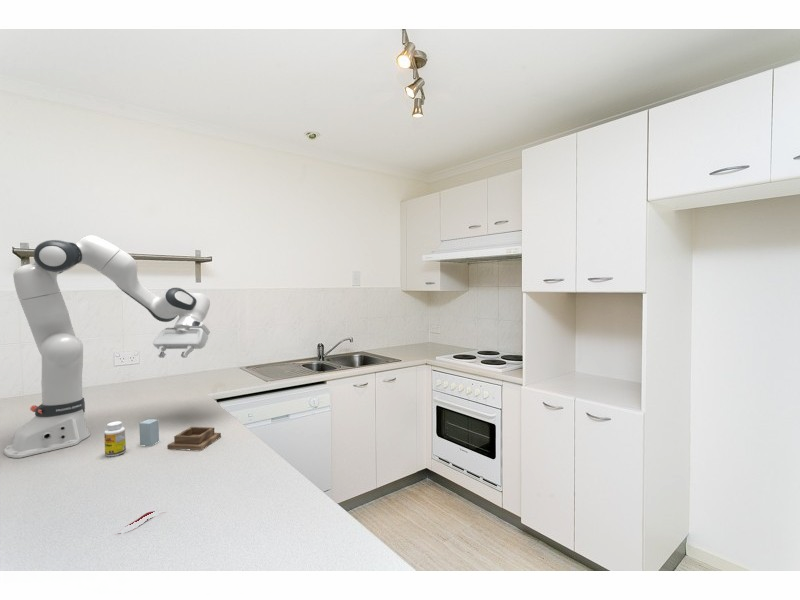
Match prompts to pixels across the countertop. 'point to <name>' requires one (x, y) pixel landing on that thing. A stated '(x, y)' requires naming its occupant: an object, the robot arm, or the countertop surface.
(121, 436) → the supplement bottle
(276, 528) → the countertop surface
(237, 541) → the countertop surface
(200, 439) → the board
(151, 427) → the block
